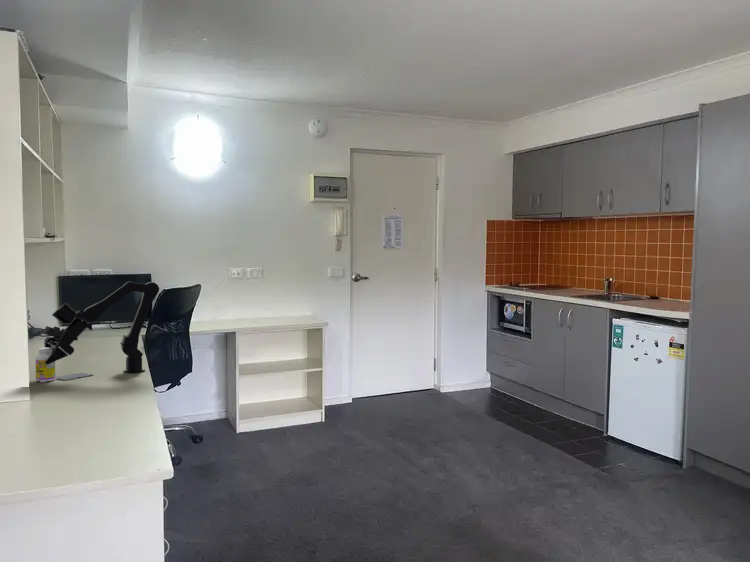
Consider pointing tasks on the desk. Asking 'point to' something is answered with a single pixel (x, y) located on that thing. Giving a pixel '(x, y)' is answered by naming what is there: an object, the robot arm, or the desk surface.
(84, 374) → the mat
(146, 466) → the desk surface
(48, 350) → the supplement bottle
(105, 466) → the desk surface
